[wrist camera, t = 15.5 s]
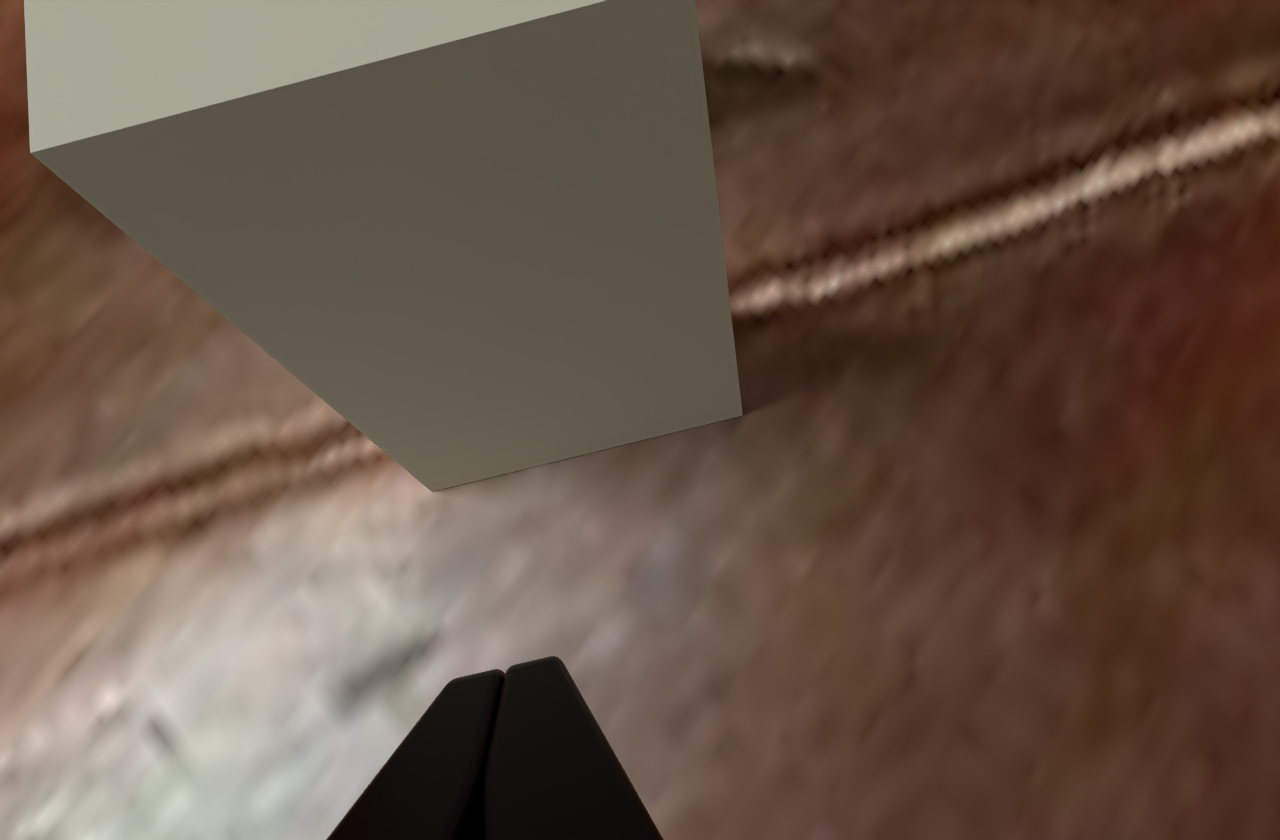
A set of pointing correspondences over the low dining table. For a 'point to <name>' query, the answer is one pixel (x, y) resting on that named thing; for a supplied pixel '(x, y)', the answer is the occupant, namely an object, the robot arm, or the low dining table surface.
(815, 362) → the low dining table surface
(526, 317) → the sage domino
